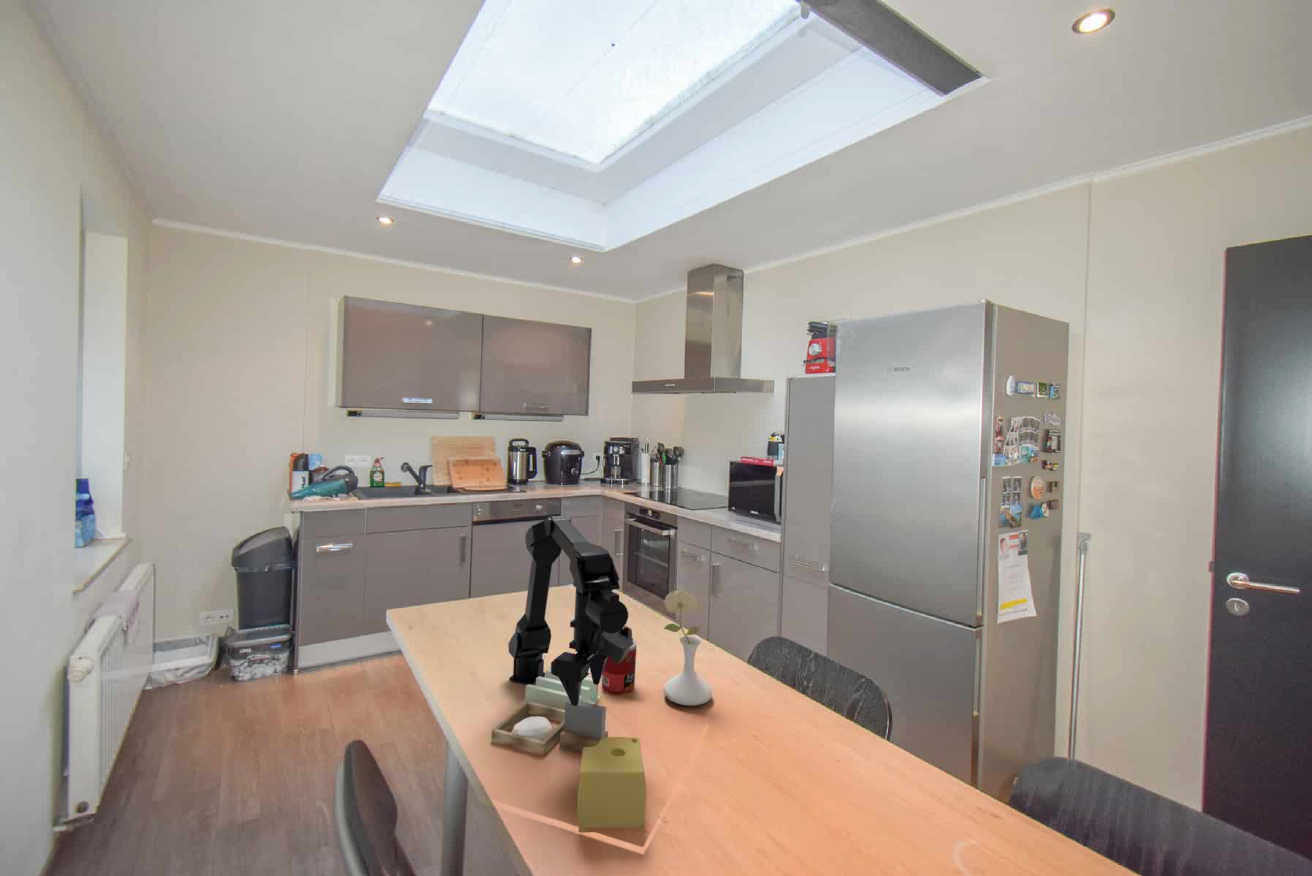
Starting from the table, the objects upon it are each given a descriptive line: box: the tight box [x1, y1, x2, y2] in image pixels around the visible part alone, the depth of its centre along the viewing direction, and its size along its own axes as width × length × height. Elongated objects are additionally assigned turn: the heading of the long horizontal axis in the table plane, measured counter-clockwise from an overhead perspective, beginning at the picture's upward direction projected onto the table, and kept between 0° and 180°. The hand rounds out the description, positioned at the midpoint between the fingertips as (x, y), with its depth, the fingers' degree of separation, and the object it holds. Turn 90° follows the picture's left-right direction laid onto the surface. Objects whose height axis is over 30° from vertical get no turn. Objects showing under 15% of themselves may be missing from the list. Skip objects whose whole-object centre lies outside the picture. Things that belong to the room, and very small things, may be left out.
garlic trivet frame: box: [490, 701, 565, 757], centre depth 114 cm, size 12×13×3 cm
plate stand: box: [558, 730, 609, 756], centre depth 111 cm, size 8×6×3 cm
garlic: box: [510, 716, 554, 741], centre depth 114 cm, size 8×7×4 cm
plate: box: [564, 699, 607, 740], centre depth 111 cm, size 8×2×8 cm, turn 70°
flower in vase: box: [662, 590, 713, 707], centre depth 133 cm, size 13×11×25 cm
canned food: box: [601, 639, 637, 695], centre depth 136 cm, size 8×8×11 cm
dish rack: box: [520, 668, 602, 710], centre depth 127 cm, size 14×11×5 cm
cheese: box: [576, 736, 647, 833], centre depth 93 cm, size 10×11×10 cm
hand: (585, 694), depth 111 cm, fingers open, 9 cm apart
